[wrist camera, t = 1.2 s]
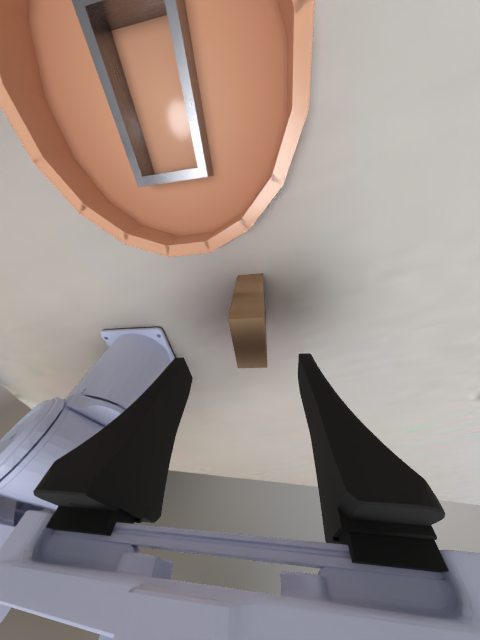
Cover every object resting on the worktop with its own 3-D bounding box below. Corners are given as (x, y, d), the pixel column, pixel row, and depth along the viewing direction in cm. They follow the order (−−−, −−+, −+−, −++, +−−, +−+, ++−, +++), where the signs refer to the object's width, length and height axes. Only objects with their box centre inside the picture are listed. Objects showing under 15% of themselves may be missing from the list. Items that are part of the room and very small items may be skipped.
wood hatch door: (265, 316, 22) (267, 367, 16) (243, 317, 22) (237, 367, 17) (263, 273, 19) (263, 317, 13) (237, 275, 19) (228, 319, 14)
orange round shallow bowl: (295, 230, 16) (302, 243, 14) (117, 250, 19) (92, 264, 16) (310, -256, 7) (342, -534, 4) (-50, -98, 9) (-184, -212, 7)
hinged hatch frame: (213, 175, 14) (207, 176, 12) (151, 185, 15) (138, 187, 13) (183, -9, 10) (167, -44, 8) (97, 17, 10) (67, -11, 9)
